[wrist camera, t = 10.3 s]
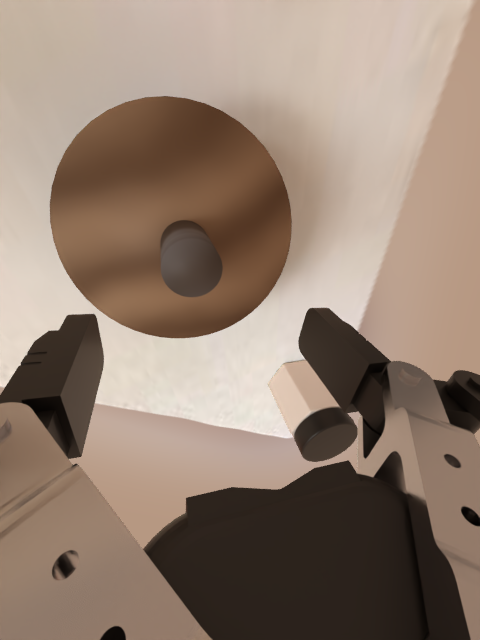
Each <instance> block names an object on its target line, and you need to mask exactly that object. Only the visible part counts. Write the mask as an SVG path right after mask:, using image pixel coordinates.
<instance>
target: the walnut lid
mask: <svg viewBox="0 0 480 640" xmlns="http://www.w3.org/2000/svg"><path fill="white" fill-rule="evenodd" d="M50 222H51V228H52V234H53V239H54V243H55V246H56V249H57V252H58V255H59V258H60V260H61V262H62V264H63V266H64V268H65V270H66V272H67V273H68V275H69V277H70V278H71V280H72V281H73V283H74V284H75V286H76V287H77V288H78V289H79V290H80V292H81V293H82V294H83V295H84V296H85V297H86V299H88V300H89V301H90V302H91V303H92V304H93V305H94V306H95V307H96V308H97V309H99V310H100V311H101V312H103V313H104V314H105V315H107V316H108V317H109V318H111V319H113V320H115V321H116V322H118V323H120V324H122V325H124V326H126V327H128V328H131V329H133V330H135V331H139V332H142V333H145V334H148V335H153V336H158V337H166V338H191V337H199V336H203V335H208V334H211V333H214V332H217V331H220V330H223V329H225V328H227V327H229V326H231V325H233V324H235V323H237V322H238V321H240V320H242V319H243V318H244V317H246V316H247V315H248V314H250V313H251V312H252V311H253V310H254V309H255V308H257V307H258V306H259V305H260V304H261V303H262V301H263V300H264V299H265V298H266V297H267V296H268V294H269V293H270V291H271V290H272V289H273V287H274V286H275V284H276V282H277V280H278V278H279V276H280V275H281V272H282V270H283V267H284V265H285V262H286V259H287V255H288V251H289V246H290V240H291V222H292V221H291V210H290V203H289V199H288V194H287V190H286V187H285V185H284V182H283V179H282V176H281V174H280V172H279V170H278V168H277V166H276V164H275V162H274V160H273V159H272V157H271V156H270V154H269V153H268V151H267V150H266V148H265V147H264V146H263V145H262V144H261V143H260V141H259V140H258V139H257V138H256V137H255V136H254V135H253V134H252V133H251V132H250V131H249V130H248V129H247V128H245V127H244V126H243V125H242V124H241V123H240V122H238V121H237V120H235V119H234V118H232V117H230V116H229V115H227V114H226V113H224V112H223V111H220V110H218V109H216V108H214V107H211V106H209V105H207V104H205V103H201V102H197V101H194V100H190V99H186V98H177V97H168V96H162V97H146V98H142V99H137V100H133V101H129V102H125V103H123V104H121V105H118V106H116V107H114V108H112V109H109V110H107V111H106V112H104V113H103V114H101V115H100V116H98V117H97V118H95V119H94V120H92V121H91V122H90V123H89V124H88V125H87V126H86V127H85V128H84V129H83V130H82V131H81V132H80V133H79V134H77V136H76V137H75V138H74V140H73V141H72V143H71V144H70V145H69V147H68V148H67V150H66V151H65V153H64V155H63V157H62V159H61V162H60V164H59V166H58V168H57V171H56V174H55V178H54V181H53V185H52V191H51V200H50Z"/></svg>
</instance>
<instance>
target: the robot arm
mask: <svg viewBox="0 0 480 640" xmlns="http://www.w3.org/2000/svg"><path fill="white" fill-rule="evenodd" d="M299 349H300V352H301V353H302V355H303V356H304V358H305V359H306V360H307V362H308V363H309V365H310V366H311V367H312V369H313V370H314V371H315V373H316V374H317V376H318V377H319V378H320V380H321V381H322V383H323V384H324V385H325V387H326V388H327V390H328V391H329V392H330V394H331V395H332V396H333V398H334V399H335V401H336V402H337V403H338V405H339V406H340V408H341V409H342V410H343V412H344V413H351V412H357V411H359V413H360V414H361V415H360V417H359V419H358V462H357V471H355V470H354V468H353V466H352V465H351V463H350V462H349V461H344V462H340V463H335V464H331V465H327V466H323V467H318V468H314V469H312V470H311V471H309V472H308V473H306V474H305V475H303V476H301V477H300V478H298V479H297V480H295V481H293V482H292V483H290V484H289V485H287V486H285V487H284V488H282V489H278V490H271V489H252V488H235V487H231V488H227V489H223V490H218V491H214V492H210V493H206V494H201V495H197V496H193V497H188V498H186V513H185V514H183V515H181V516H179V517H178V518H176V519H175V520H173V521H172V522H171V523H169V524H168V525H167V526H165V527H164V528H163V529H162V530H161V531H160V532H159V533H158V534H157V535H156V536H155V537H153V538H152V540H151V541H150V542H149V543H148V544H147V545H146V547H145V548H144V549H142V548H141V546H140V545H139V544H138V542H137V541H136V540H135V538H134V537H133V536H132V534H131V533H130V532H129V530H128V529H127V528H126V526H125V525H124V524H123V522H122V521H121V520H120V518H119V517H118V516H117V514H116V513H115V512H114V511H113V509H112V508H111V506H110V505H109V504H108V502H107V501H106V500H105V498H104V497H103V496H102V494H101V493H100V492H99V490H98V489H97V488H96V486H95V485H94V484H93V482H92V481H91V480H90V478H89V477H88V476H87V474H86V473H85V472H84V471H83V469H82V468H81V467H80V466H79V465H78V464H75V465H73V464H72V463H71V462H70V461H69V459H71V458H76V457H81V456H82V452H83V448H84V444H85V439H86V435H87V431H88V427H89V423H90V419H91V415H92V411H93V407H94V403H95V399H96V395H97V391H98V387H99V383H100V379H101V375H102V371H103V364H104V355H103V348H102V343H101V338H100V333H99V328H98V323H97V318H96V316H95V315H94V314H80V315H68V316H67V317H66V318H65V320H64V322H63V324H62V326H61V328H60V329H59V330H58V331H48V332H47V333H46V334H44V335H43V336H41V337H40V338H39V339H37V340H36V341H35V342H34V343H33V345H32V346H31V348H30V350H29V351H28V353H27V355H26V356H25V357H24V359H23V361H22V362H21V366H19V367H18V368H17V370H16V371H15V373H14V375H13V376H12V378H11V379H10V381H9V382H8V384H7V385H6V387H5V389H4V390H3V392H2V393H1V395H0V640H480V446H479V444H478V442H477V440H476V438H475V436H474V434H475V433H476V432H477V430H478V429H479V428H480V375H478V374H475V373H472V372H469V371H463V370H460V371H456V372H454V373H453V375H452V376H451V377H450V379H449V380H448V381H447V382H445V381H439V380H433V379H432V378H431V377H430V376H429V375H428V374H427V373H426V372H424V371H423V370H421V369H420V368H418V367H416V366H414V365H412V364H409V363H405V362H401V361H393V362H391V361H390V360H389V359H388V358H387V357H385V356H384V355H383V354H382V353H381V352H380V351H378V349H377V348H375V347H374V346H373V345H372V344H371V343H370V342H369V341H366V339H365V338H364V337H363V336H362V335H361V334H359V332H357V331H356V330H355V329H354V328H353V327H352V326H351V325H349V324H347V323H346V322H344V321H342V320H341V319H340V318H339V317H338V316H337V315H336V314H335V313H333V312H332V311H331V310H330V309H329V308H310V309H309V310H308V311H307V313H306V316H305V319H304V323H303V326H302V330H301V333H300V337H299Z"/></svg>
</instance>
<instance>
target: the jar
mask: <svg viewBox="0 0 480 640" xmlns="http://www.w3.org/2000/svg"><path fill="white" fill-rule="evenodd" d="M268 386H269V388H270V391H271V393H272V395H273V397H274V399H275V401H276V403H277V405H278V408H279V410H280V412H281V414H282V416H283V418H284V420H285V423H286V425H287V427H288V429H289V431H290V433H291V434H292V436H293V437H294V439H295V441H296V444H297V446H298V448H299V450H300V452H301V454H302V456H303V458H304V459H306V460H308V461H312V462H318V461H324V460H327V459H330V458H332V457H335V456H337V455H338V454H340V453H342V452H343V451H345V450H346V449H347V448H348V447H350V446H351V444H352V443H353V442H354V441H355V439H356V437H357V435H358V428H357V426H356V425H355V423H354V421H353V420H352V419H351V417H350V416H349V415H348V414H347V413H344V412H343V410H342V409H341V408H340V406H339V405H338V403H337V402H336V401H335V399H334V398H333V396H332V395H331V394H330V392H329V391H328V390H327V388H326V387H325V385H324V384H323V383H322V381H321V380H320V378H319V377H318V376H317V374H316V373H315V371H314V370H313V369H312V367H311V366H310V365H309V363H308V362H307V360H303V361H297V362H291V363H285V364H282V366H281V367H280V368H279V370H278V371H277V372H276V373H275V375H274V376H273V377H272V379H271V380H270V381H269V382H268Z"/></svg>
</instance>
